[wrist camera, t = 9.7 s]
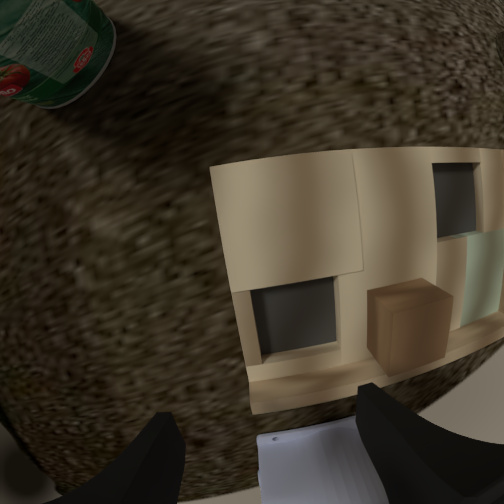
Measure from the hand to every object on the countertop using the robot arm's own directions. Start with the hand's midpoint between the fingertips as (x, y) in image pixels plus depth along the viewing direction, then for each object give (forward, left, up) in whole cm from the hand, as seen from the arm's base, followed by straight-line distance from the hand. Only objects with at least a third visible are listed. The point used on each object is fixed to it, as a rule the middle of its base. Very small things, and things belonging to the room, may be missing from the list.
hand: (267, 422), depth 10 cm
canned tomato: (-10, +20, -9) cm, 24 cm away
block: (+9, 0, -7) cm, 11 cm away
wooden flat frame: (+9, +3, -8) cm, 13 cm away
